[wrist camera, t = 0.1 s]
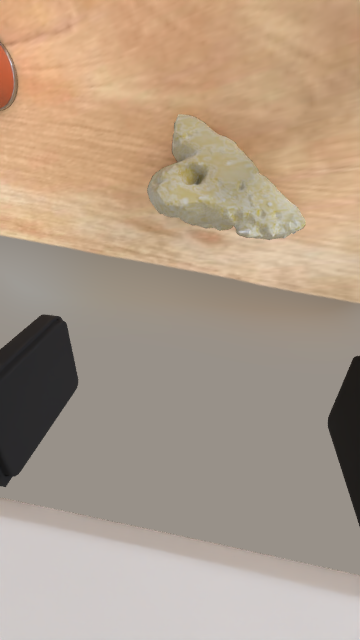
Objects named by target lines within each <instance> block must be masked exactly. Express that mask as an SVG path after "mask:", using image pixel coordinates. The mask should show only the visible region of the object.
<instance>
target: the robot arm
mask: <svg viewBox="0 0 360 640" xmlns="http://www.w3.org/2000/svg"><path fill="white" fill-rule="evenodd" d="M77 386H78V376H77V372H76V367H75V362H74V357H73V352H72V347H71V343H70V338H69V333H68V328H67V324H66V322H64V321H63V320H62V318H61V317H59V316H52V315H41V316H39V317H38V318H37V319H36V320H35V321H34V322H32V323H31V324H30V325H29V326H28V327H27V328H25V329H24V330H23V331H22V332H20V333H19V334H18V335H17V336H16V337H15V338H13V339H12V340H11V341H10V342H9V343H7V345H5V346H4V347H3V348H1V349H0V486H3V487H6V485H7V484H8V483H9V481H10V480H11V478H12V477H13V476H16V475H18V474H19V473H20V471H21V470H22V469H23V467H24V465H25V464H26V463H27V461H28V460H29V458H30V457H31V455H32V454H33V452H34V451H35V449H36V448H37V446H38V445H39V443H40V442H41V440H42V439H43V438H44V436H45V435H46V433H47V432H48V430H49V429H50V427H51V426H52V424H53V423H54V421H55V420H56V418H57V417H58V415H59V414H60V412H61V411H62V409H63V408H64V406H65V405H66V404H67V402H68V401H69V399H70V398H71V396H72V395H73V393H74V392H75V390H76V388H77ZM328 428H329V432H330V435H331V438H332V441H333V444H334V447H335V450H336V454H337V457H338V460H339V463H340V466H341V469H342V472H343V476H344V478H345V482H346V485H347V488H348V491H349V494H350V497H351V501H352V504H353V507H354V510H355V513H356V516H357V519H358V523H359V526H360V356H356V357H354V358H353V360H352V363H351V365H350V367H349V370H348V372H347V375H346V377H345V379H344V382H343V384H342V386H341V389H340V391H339V394H338V396H337V398H336V400H335V403H334V405H333V408H332V410H331V413H330V415H329V417H328ZM0 640H360V576H359V575H355V574H351V573H347V572H342V571H338V570H334V569H329V568H325V567H320V566H316V565H311V564H307V563H302V562H297V561H293V560H288V559H284V558H279V557H275V556H270V555H265V554H261V553H256V552H252V551H247V550H243V549H238V548H234V547H229V546H225V545H220V544H216V543H211V542H206V541H202V540H197V539H193V538H188V537H183V536H179V535H174V534H169V533H165V532H160V531H156V530H150V529H146V528H141V527H137V526H132V525H128V524H123V523H118V522H113V521H109V520H104V519H100V518H95V517H90V516H86V515H81V514H76V513H71V512H67V511H62V510H57V509H52V508H47V507H43V506H38V505H33V504H28V503H23V502H19V501H14V500H9V499H4V498H0Z"/></svg>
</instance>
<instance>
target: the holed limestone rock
mask: <svg viewBox="0 0 360 640" xmlns="http://www.w3.org/2000/svg"><path fill="white" fill-rule="evenodd" d="M172 153H173V155H174V157H175V159H176V161H177V163H174V164H172V165H170V166H167V167H164V168H162V169H161V170H159V171H158V172H156V174H155V175H154V176H152V179H151V181H150V183H149V185H148V188H147V192H148V195H149V199H150V201H151V203H152V205H153V206H154V207H155V208H156V210H157V211H158V212H159V213H160V214H163V215H165V216H168V217H175V218H180V219H181V220H183V221H184V222H186V223H189V224H191V225H197V226H201V227H203V228H216V229H217V230H228V229H231V228H232V227H233V226H234V227H235V228H236V233H237V234H238V235H240V236H243V237H246V238H260V239H268V240H270V239H276V238H286V237H287V236H288V235H290V234H291V233H293V234H294V233H295V232H296V231H299V230H301V229H302V228H304V226H305V224H306V222H305V219H304V217H303V216H302V215H301V213H300V211H299V209H298V208H297V207H296V206H295V205H294V204H292V203H291V202H290V201H289V200H288V199H287V198H286V197H285V196H284V195H283V194H281V193H280V192H279V191H278V189H277V188H276V186H275V185H273V184H272V183H271V182H270V181H269V180H268V178H266V177H265V176H263V175H261V174H260V173H259V172H258V169H257V168H256V167H255V165H254V163H253V162H252V161H251V160H250V159H249V158H248V157H247V156H246V155H245V153H244V152H243V151H242V150H240V149H239V148H238V147H237V145H236V143H235V142H233V141H232V140H230V139H229V138H227V137H226V136H221V135H219V134H217V133H216V132H214V131H213V130H212V129H211V128H210V127H208V126H207V125H206V123H204V122H202V121H201V120H199V119H197V118H196V117H193V116H190V115H181V114H179V115H178V116H177V119H176V121H175V123H174V134H173V141H172Z"/></svg>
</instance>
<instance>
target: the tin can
mask: <svg viewBox="0 0 360 640" xmlns="http://www.w3.org/2000/svg"><path fill="white" fill-rule="evenodd" d="M17 85H18V84H17V74H16V69H15V66H14V63H13V60H12V58H11V56H10V54H9V53H8V51H7V49H6V48H5V47H4V45H3V44H2V43H1V42H0V110H4V109H6V108H8V107H9V106H10V105H11V104H12V103H13V101H14V99H15V97H16V93H17Z"/></svg>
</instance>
